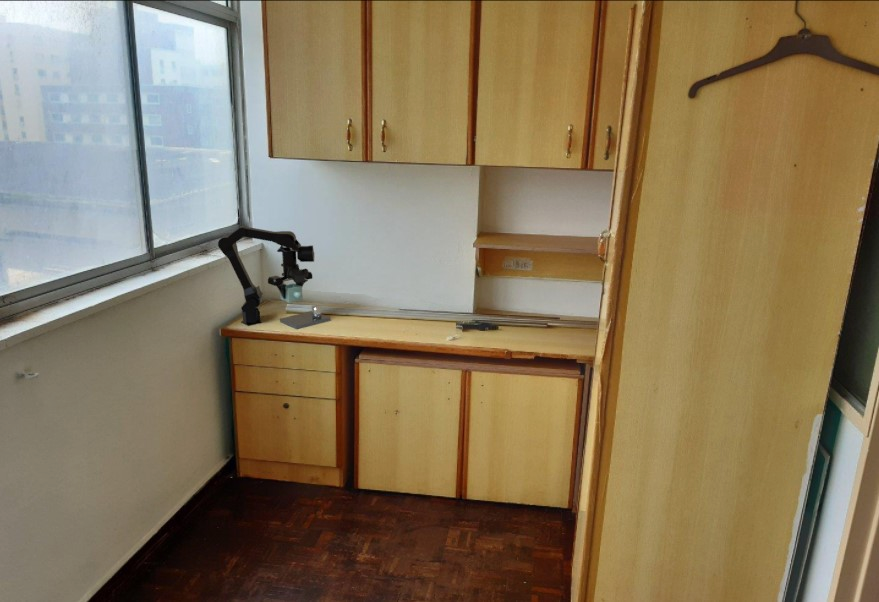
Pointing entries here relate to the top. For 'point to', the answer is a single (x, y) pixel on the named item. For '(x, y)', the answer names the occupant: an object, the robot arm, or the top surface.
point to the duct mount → (306, 318)
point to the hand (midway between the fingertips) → (291, 297)
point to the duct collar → (293, 293)
